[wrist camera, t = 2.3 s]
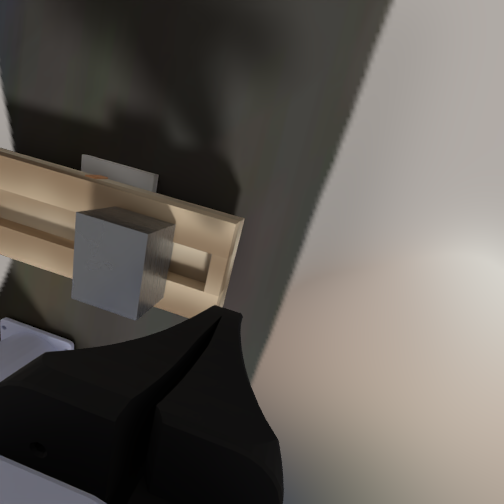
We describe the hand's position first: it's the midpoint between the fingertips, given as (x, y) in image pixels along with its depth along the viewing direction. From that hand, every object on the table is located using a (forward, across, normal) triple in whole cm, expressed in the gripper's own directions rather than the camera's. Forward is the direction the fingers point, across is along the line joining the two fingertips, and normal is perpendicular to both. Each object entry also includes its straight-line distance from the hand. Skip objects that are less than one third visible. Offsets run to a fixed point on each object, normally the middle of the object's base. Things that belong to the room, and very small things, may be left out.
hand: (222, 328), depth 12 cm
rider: (+6, +7, 0) cm, 9 cm away
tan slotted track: (+9, +12, 0) cm, 15 cm away
